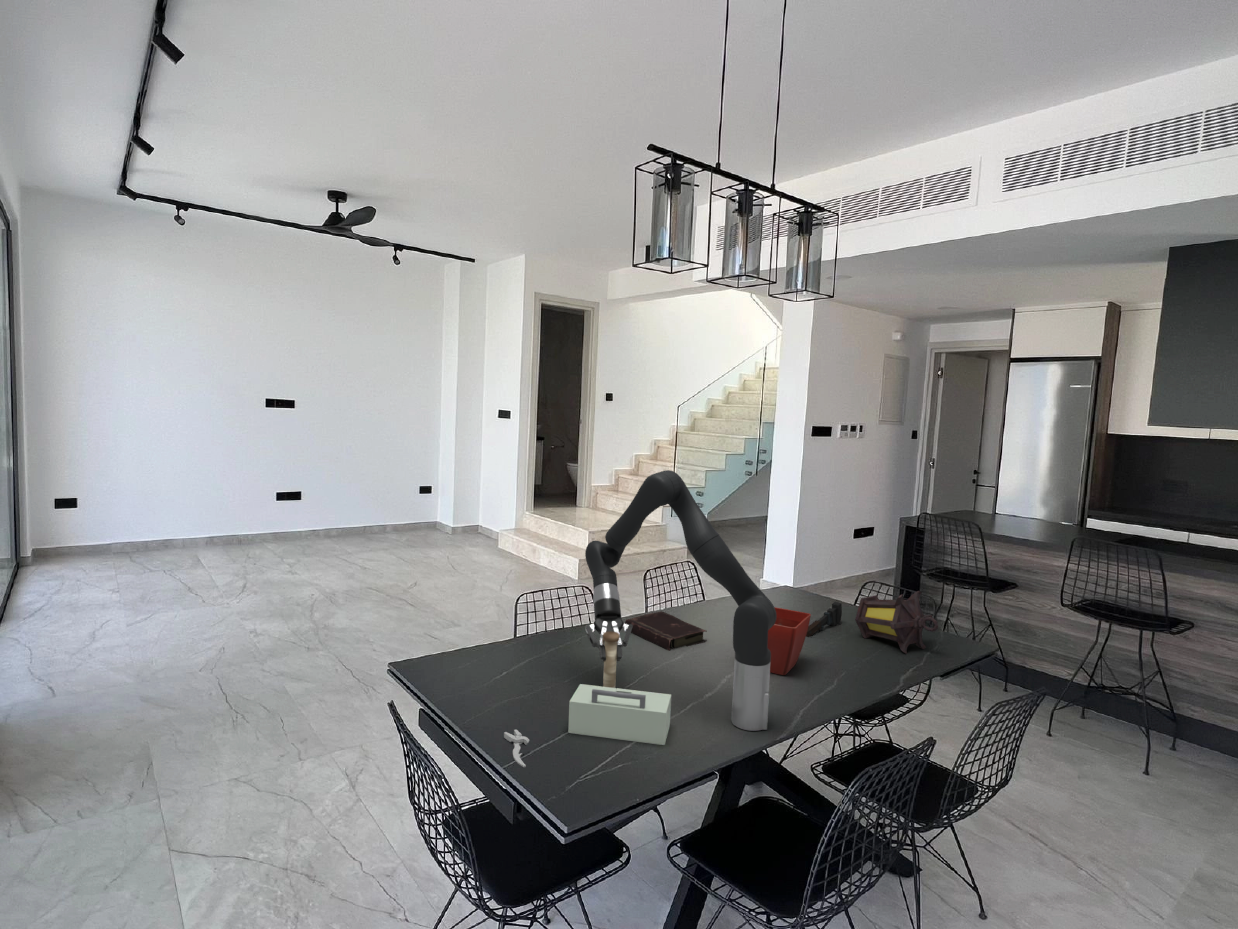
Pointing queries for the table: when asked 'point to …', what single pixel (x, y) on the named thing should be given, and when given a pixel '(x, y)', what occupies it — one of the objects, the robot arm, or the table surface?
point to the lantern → (894, 620)
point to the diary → (666, 630)
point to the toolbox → (620, 714)
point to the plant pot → (787, 639)
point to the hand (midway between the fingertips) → (611, 660)
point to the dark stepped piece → (827, 619)
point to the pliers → (517, 744)
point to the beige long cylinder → (610, 658)
